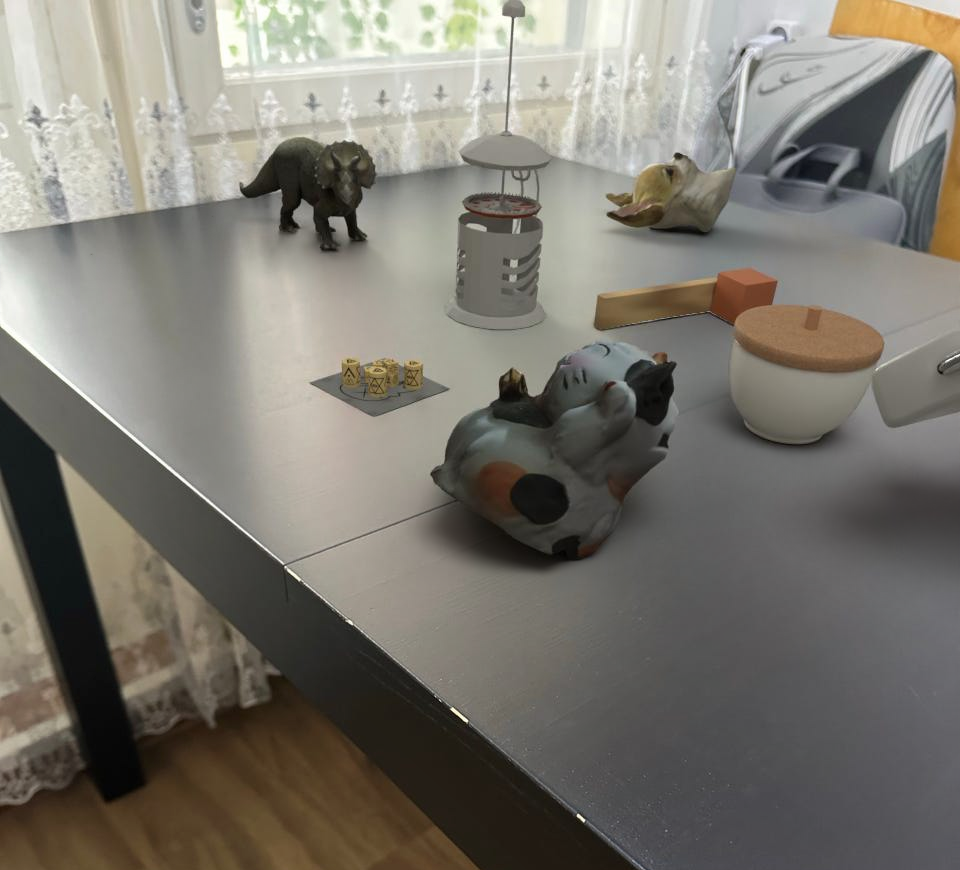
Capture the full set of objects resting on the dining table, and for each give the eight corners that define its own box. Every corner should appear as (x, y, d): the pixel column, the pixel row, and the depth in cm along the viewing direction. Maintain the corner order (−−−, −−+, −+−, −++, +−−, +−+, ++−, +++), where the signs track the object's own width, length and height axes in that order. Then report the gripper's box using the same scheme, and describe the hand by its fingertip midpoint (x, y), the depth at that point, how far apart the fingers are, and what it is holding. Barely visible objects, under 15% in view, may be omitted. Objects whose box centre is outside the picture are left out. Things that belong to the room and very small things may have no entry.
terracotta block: (740, 308, 95) (750, 267, 93) (768, 321, 93) (778, 280, 90) (710, 313, 94) (718, 272, 91) (736, 327, 91) (746, 285, 89)
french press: (426, 315, 89) (431, -4, 74) (479, 281, 98) (493, -12, 82) (521, 337, 86) (548, 9, 71) (568, 300, 95) (600, -1, 79)
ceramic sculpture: (744, 162, 107) (610, 161, 108) (732, 243, 112) (604, 241, 113) (733, 144, 115) (608, 142, 116) (722, 219, 120) (603, 218, 122)
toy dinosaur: (234, 219, 111) (222, 110, 104) (295, 208, 115) (288, 104, 108) (346, 270, 98) (341, 151, 91) (409, 256, 103) (410, 141, 96)
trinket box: (710, 391, 79) (735, 276, 73) (841, 405, 78) (877, 290, 72) (718, 450, 71) (746, 326, 65) (864, 466, 70) (907, 341, 64)
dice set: (426, 386, 77) (426, 363, 76) (378, 403, 74) (377, 380, 73) (385, 367, 80) (385, 344, 78) (337, 382, 77) (336, 359, 76)
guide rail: (720, 305, 96) (726, 275, 94) (728, 309, 95) (734, 279, 93) (593, 326, 90) (597, 294, 88) (600, 330, 89) (604, 298, 87)
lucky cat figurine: (462, 448, 69) (567, 272, 63) (600, 541, 69) (718, 373, 63) (396, 489, 55) (522, 270, 49) (569, 606, 55) (715, 399, 49)
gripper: (1025, 395, 46) (823, 482, 59) (1253, 337, 54) (1034, 424, 67) (983, 273, 46) (791, 386, 59) (1217, 234, 55) (1005, 340, 67)
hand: (922, 406), depth 63 cm, fingers closed
